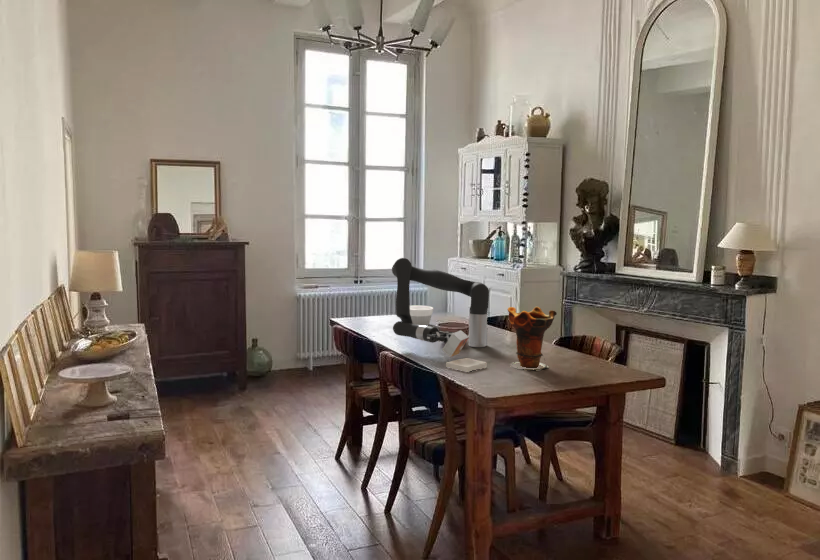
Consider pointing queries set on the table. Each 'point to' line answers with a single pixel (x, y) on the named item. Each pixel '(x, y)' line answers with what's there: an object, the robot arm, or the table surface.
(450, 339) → the small box
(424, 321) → the bowl
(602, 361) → the table surface
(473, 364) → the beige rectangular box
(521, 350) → the decorative vase
